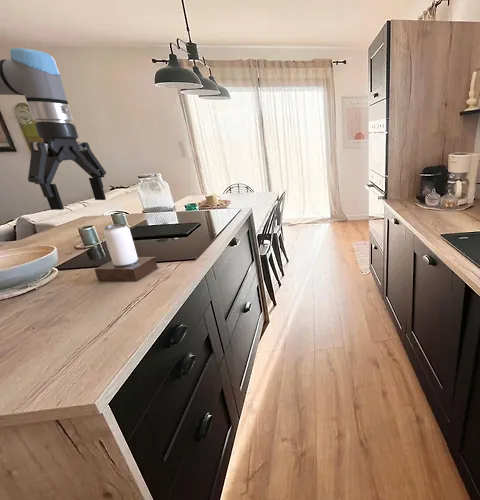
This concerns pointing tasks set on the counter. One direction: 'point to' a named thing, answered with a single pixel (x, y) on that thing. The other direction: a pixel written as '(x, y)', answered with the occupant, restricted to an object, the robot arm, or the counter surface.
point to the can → (120, 244)
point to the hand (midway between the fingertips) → (80, 204)
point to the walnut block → (126, 270)
